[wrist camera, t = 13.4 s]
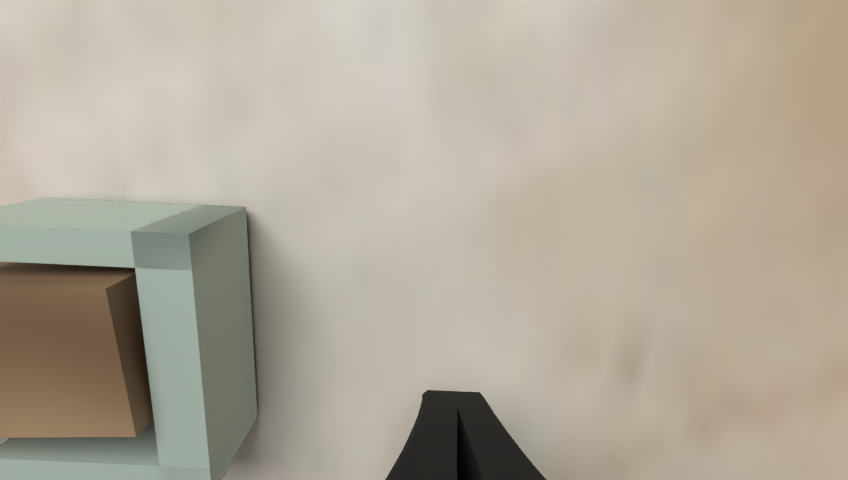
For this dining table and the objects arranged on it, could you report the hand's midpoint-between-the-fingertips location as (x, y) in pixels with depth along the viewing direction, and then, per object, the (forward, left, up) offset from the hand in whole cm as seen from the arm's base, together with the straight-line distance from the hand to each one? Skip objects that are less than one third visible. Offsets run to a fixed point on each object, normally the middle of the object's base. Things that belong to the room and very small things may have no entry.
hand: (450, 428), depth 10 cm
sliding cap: (+1, +9, -3) cm, 9 cm away
